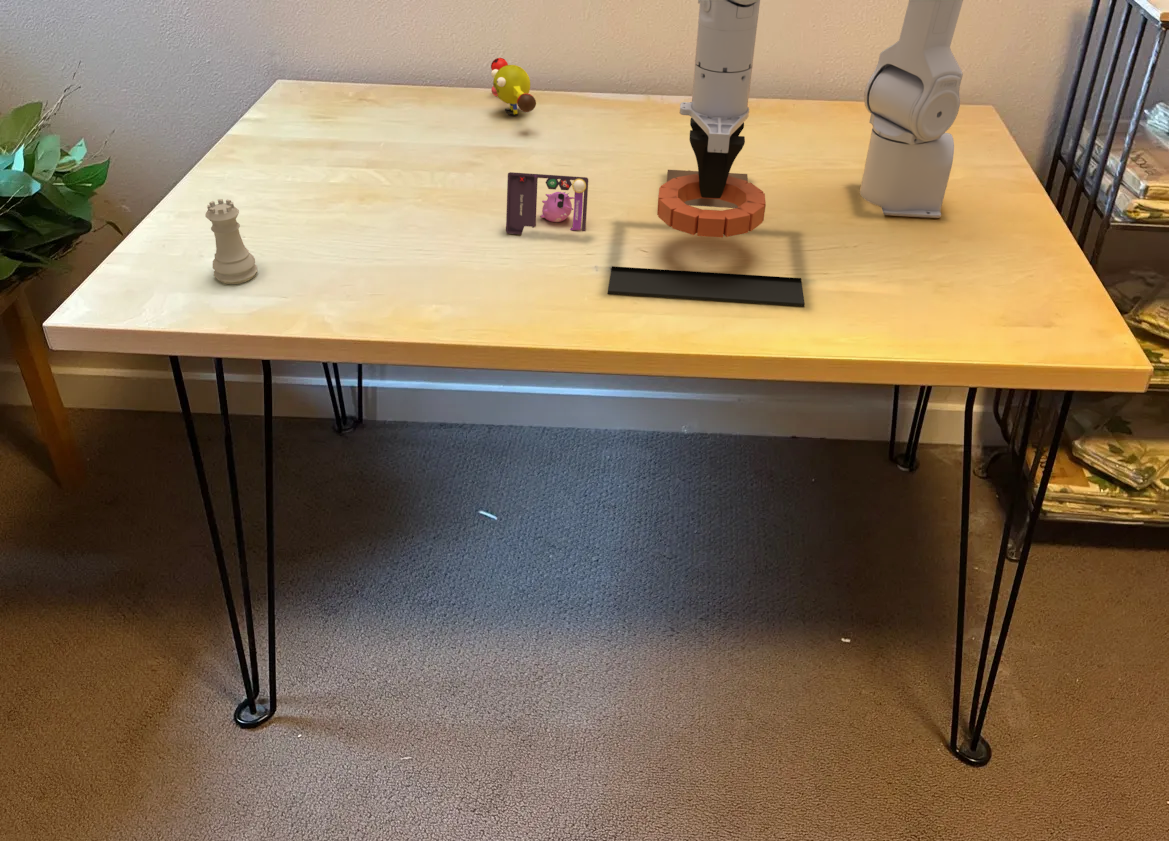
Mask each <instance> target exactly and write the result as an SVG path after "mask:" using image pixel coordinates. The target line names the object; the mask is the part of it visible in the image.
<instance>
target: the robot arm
mask: <svg viewBox="0 0 1169 841" xmlns="http://www.w3.org/2000/svg"><path fill="white" fill-rule="evenodd" d="M907 2H908V3H907V7H906V10H905V15H904V18H903V23H902V27H901V30H900V35H899V37H898V38H899V39H898V40H897V41H896V42H894V43H893V44H891V45H890V46H888V47H887V48H885V49H883V50H882V51H881V52H880V53H879V55H878V61H877V64H876V66H875V69H874V70H873V72H872V74H871V76H870V77H869V79H868V81H867V82H866V86H865V88H864V91H863V92H864V93H863V103H864V107H865V109H866V110H867V112H868V113H869V114H870V117H869V122H868V123H869V124H871V126H872V128H871V133H870V138H869V143H868V148H867V152H866V157H865V161H864V162H865V163H864V168H863V173H862V177H861V182H860V189H859V195H860V197H861V198H862V199H863V200H864V201H866V202H867V203H870V204H872V205H875V206H878V207H881V211H882V214H883V216H892V217H893V216H895V217H912V218H928V219H929V218H930V219H939V218H941V216H942V213H941V210H942V206H943V203H944V199H945V194H946V191H947V187H948V183H949V178H950V174H951V171H952V168H953V161H954V154H955V140H954V137H953V134H952V133H950V132H948V130H950V129H951V127H952V126H953V124H954V122H955V121H956V119H957V116H958V114H959V111H960V107H961V106H960V105H961V96H960V88H961V83H962V79H963V76H964V75H963V74H964V73H963V71H962V69H961V66H960V65H959V63H958V61H957V59H956V57H955V56H954V53H953V51H952V49H951V44H952V41H953V37H954V34H955V31H956V27H957V24H958V20H959V16H960V13H961V9H962V6H963V3H964V0H908V1H907ZM697 4H699V8H698V22H697V34H696V45H695V56H694V71H693V84H692V96H691V101H682V102H680V104H679V114H680V115H682V116H689V117H690V123H689V125H690V128H691V129H690V130H689V143H690V146H691V149H692V151H693V153H694V156H695V159H696V163H697V171H698V173H699V186H700V193H701V197H702V198H721V196H722V193H723V191H724V188H725V185H726V181H727V178H728V175H729V173H731V169H732V166H733V164H734V162H735V160H736V158H737V157H738V156H739V154H740V153H741V151H742V150H743V148H744V145H745V143H746V139H745V136H744V135H740V134H741V133H742V131H743V130H744V128H745V122H746V121H747V120H748V119H749V116H750V107H749V99H750V92H751V91H750V90H751V81H752V74H753V65H754V55H755V47H756V39H757V30H758V29H757V28H758V22H759V13H760V4H761V0H697Z"/></svg>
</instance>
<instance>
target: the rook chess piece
mask: <svg viewBox="0 0 1169 841" xmlns="http://www.w3.org/2000/svg"><path fill="white" fill-rule="evenodd" d="M206 208H207V210H206V212H205V218H206V219H208V220H209V222H211V224H212V225H211V227H210V230H211V231H212V232H213V234H214V235H213V236H214V239H215V248H216V249H215V253H214V258H213V259H212V269H213V270H214V271H213V277H214V278H215V279H216V280H218V281H219V282H221V283H222V284H226V285H236V284H243V283H246V282H248V281H250V280H251V279H253V278H254V277H255V276H256V274H257V272H258V265H257V264H256V258H255V257H254V255H253V254H252V253H251V252H250V251H249V249H248V248H247V247H246V246H245V244H244V240H243V239H242V236H241V234H240V227H241V224H240V223H239V222H238V221H237V218H238V216H239V214H240V210H239V209H238V208H237V207H236V206H235V204H234V201H232V200H231V199H228V198H227V199H226V200H225V202H224V199H223V198H219V199H217V204H216V203H215V201H214V200H212V201H209V202H208V204H207V205H206Z"/></svg>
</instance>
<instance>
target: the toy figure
mask: <svg viewBox="0 0 1169 841" xmlns="http://www.w3.org/2000/svg"><path fill="white" fill-rule="evenodd" d="M490 64H491V65H490V70H491V72H490V76H491V78H493V81H492V82H493V83H492V87H491V90H490V91H491V93H492V95H493V96H494V97H497V98H498V99H499V100H500V101H502V102H503V103H505V104H508V105H509V108H504V111H505V112H506V113H507V116H510V117H517V116H519V113H518V109H519V110H520V111H521V112H523V113H530V112H532V111H533V110H534V109H535V108H536V106H537V101H536V98H535V97H534V95H532V94H530V90H531V79H530V76H529V74H528V73H527V71H526V70H525V69H524V68H523V67H521V66H519V65H516V64H509V63H508V61H507V60H506V59H504V58H503V57H497V58H495V59H493V60H492V62H491V63H490Z"/></svg>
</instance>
